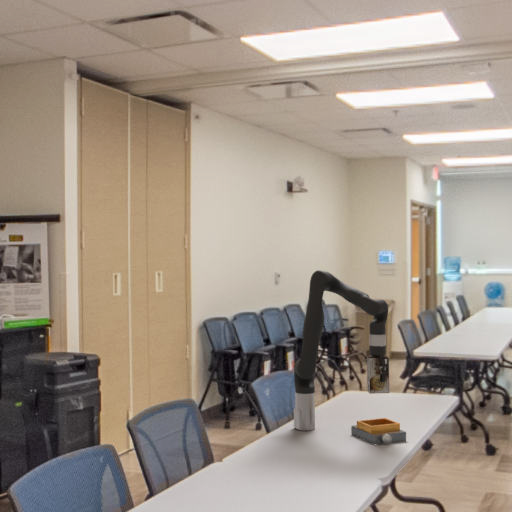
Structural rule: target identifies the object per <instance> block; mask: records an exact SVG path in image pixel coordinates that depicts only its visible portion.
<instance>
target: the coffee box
mask: <svg viewBox="0 0 512 512" xmlns="http://www.w3.org/2000/svg"><path fill="white" fill-rule="evenodd" d="M384 359H388V368H389V369H390V358H389V356H388V355H384ZM378 364H379V358H378V357H375V356H372V355H367V356H366V383H367V384H366V391H367V392H368V394H371V395H372V394H389V393H390V371H389V372H388V373H386V374H385V382H380V374H381V373H380V371H379V369H378ZM379 366H380V367H382V362H381V364H379ZM385 370H386V368H385Z"/></svg>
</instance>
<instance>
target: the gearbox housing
mask: <svg viewBox="0 0 512 512" xmlns="http://www.w3.org/2000/svg"><path fill="white" fill-rule="evenodd" d="M350 430H351V432H350V433H351V434H352V436H354V435H355V436H354V437H356V436H357V437H356V438H358V437H359V438H358V439H360V438H361V439H360V440H363V439H364V440H363V441H365V440H366V442H367V441H368V443H369V442H370V444H372V443H373V444H372V445H374V444H378V445H385V444H384V443H386V445H389V444H391V443H392V444H394V443H400V442H402V443H403V442H406V441H407V432H406V431H404V430H403V429H402V430H401V423H400V422H397V421H395V420H393V419H389V418H386V417H383V418H382V417H380V418H372V419H362V420H357V421H356V424H355V425H351V429H350ZM393 442H394V443H393Z"/></svg>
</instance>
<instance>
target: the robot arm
mask: <svg viewBox="0 0 512 512" xmlns="http://www.w3.org/2000/svg"><path fill="white" fill-rule="evenodd" d="M324 292H330V293H334V294H336V295H338V296H340V297H342V298H343V299H344V300H345V301H346V302H348V303H350V304H352V305H354V306H356V307H359V308H360V309H361V310H362V311H364V313H366V314H368V315H369V316H373V319H372V321H370V323H369V337H368V353H369V356H375V357H378V358H379V364H381V362H382V367H380V366H379V364H378V369H379V371H380V373H381V374H380V382H385V374H386V373H388V372H389V373H390V367H389V368H388V359H384V356H387V338H386V324H387V323H386V322H387V320H388V316H389V315H388V314H389V305H388V303H387V302H386V300H384V299H372V298H370V295H369V294H367V293H366V292H363V291H362V290H360V289H358V288H355V287H354V286H351V285H349V284H347V283H345V282H344V281H341V280H340V279H339V278H337V277H336V276H335V275H333V274H332V273H331V272H329V271H325V270H316V271H314V272H313V273H312V274H311V277H310V280H309V291H308V299H307V300H308V301H307V306H306V312H305V316H304V319H303V320H304V322H303V326H302V349H301V354H300V358H298V359H297V360H296V361H295V362H294V365H293V366H294V368H293V371H294V373H293V378H294V379H293V380H294V381H293V383H294V389H295V390H294V391H295V392H294V394H295V395H294V396H295V399H294V400H295V403H294V404H295V405H294V408H293V428H294V427H295V428H296V429H295V428H294V429H295V430H297V429H298V430H297V431H299V430H300V431H306V430H307V431H312V430H313V429H314V430H315V429H316V398H315V396H316V393H315V392H316V390H315V389H316V387H315V381H314V375H315V373H316V371H317V359H318V350H319V347H320V343H321V338H322V334H323V329H324V324H325V312H324V306H323V297H324ZM385 368H386V370H385Z"/></svg>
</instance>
